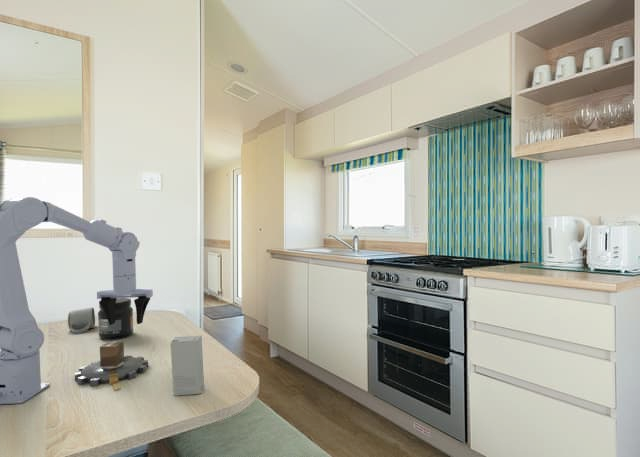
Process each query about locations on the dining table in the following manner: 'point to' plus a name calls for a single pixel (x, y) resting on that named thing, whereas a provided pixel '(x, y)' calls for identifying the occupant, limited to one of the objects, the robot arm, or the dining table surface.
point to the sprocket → (111, 371)
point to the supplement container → (117, 321)
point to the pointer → (116, 386)
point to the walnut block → (111, 353)
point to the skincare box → (187, 365)
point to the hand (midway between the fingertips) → (126, 323)
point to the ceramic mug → (81, 320)
